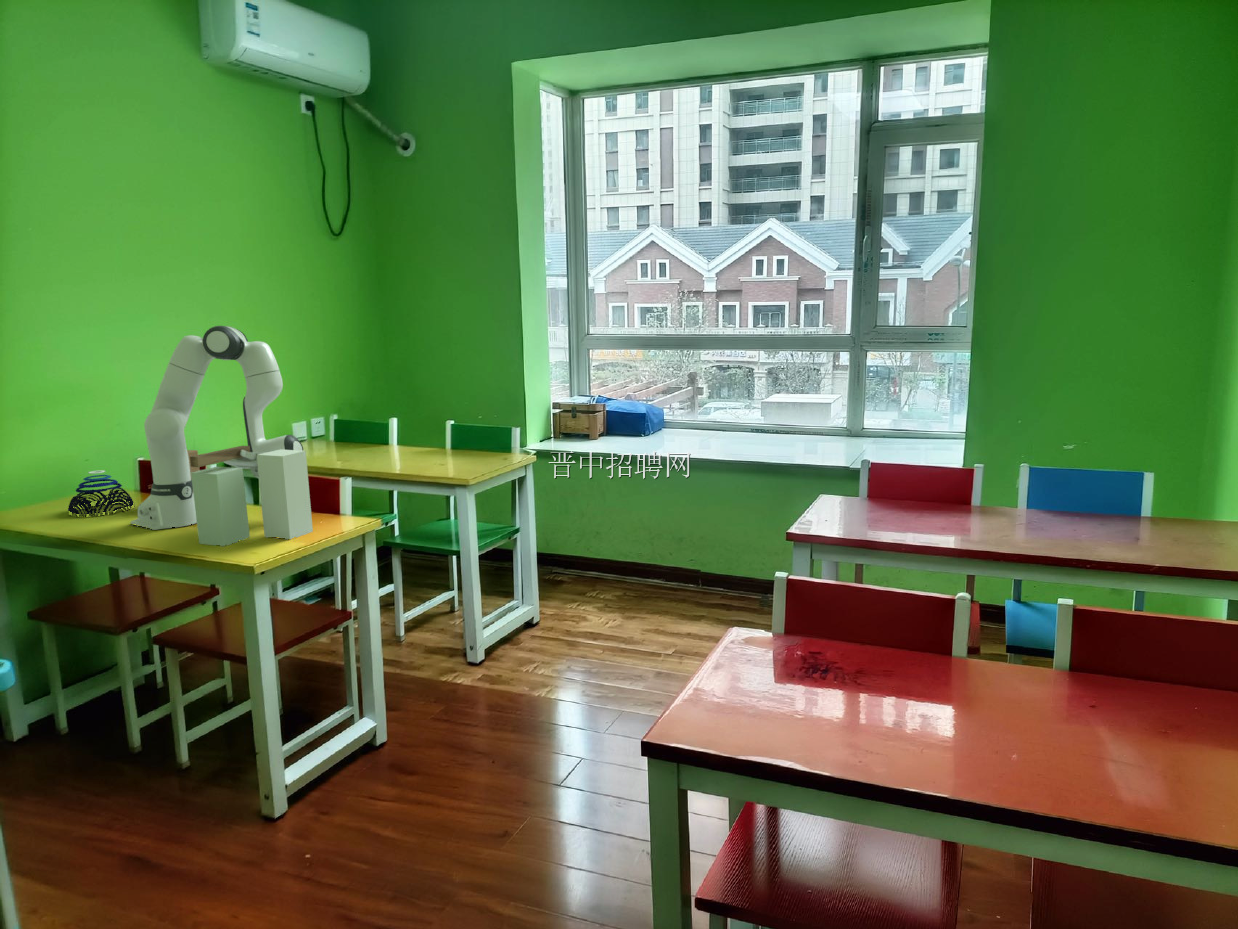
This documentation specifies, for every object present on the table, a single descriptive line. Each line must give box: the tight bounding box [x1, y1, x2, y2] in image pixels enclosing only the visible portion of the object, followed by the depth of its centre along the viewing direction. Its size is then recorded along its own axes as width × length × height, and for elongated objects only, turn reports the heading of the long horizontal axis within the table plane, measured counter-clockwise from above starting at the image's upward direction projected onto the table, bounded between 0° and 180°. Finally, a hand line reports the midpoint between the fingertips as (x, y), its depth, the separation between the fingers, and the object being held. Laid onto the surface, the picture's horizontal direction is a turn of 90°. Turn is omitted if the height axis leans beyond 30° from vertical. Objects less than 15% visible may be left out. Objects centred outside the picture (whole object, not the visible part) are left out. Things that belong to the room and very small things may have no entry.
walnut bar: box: [190, 445, 250, 468], centre depth 256 cm, size 3×20×3 cm, turn 159°
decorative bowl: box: [67, 469, 134, 515], centre depth 301 cm, size 20×20×14 cm
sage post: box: [191, 466, 251, 547], centre depth 257 cm, size 10×10×22 cm
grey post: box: [257, 449, 314, 540], centre depth 262 cm, size 10×10×26 cm
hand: (234, 451), depth 260 cm, fingers closed on walnut bar, 3 cm apart
